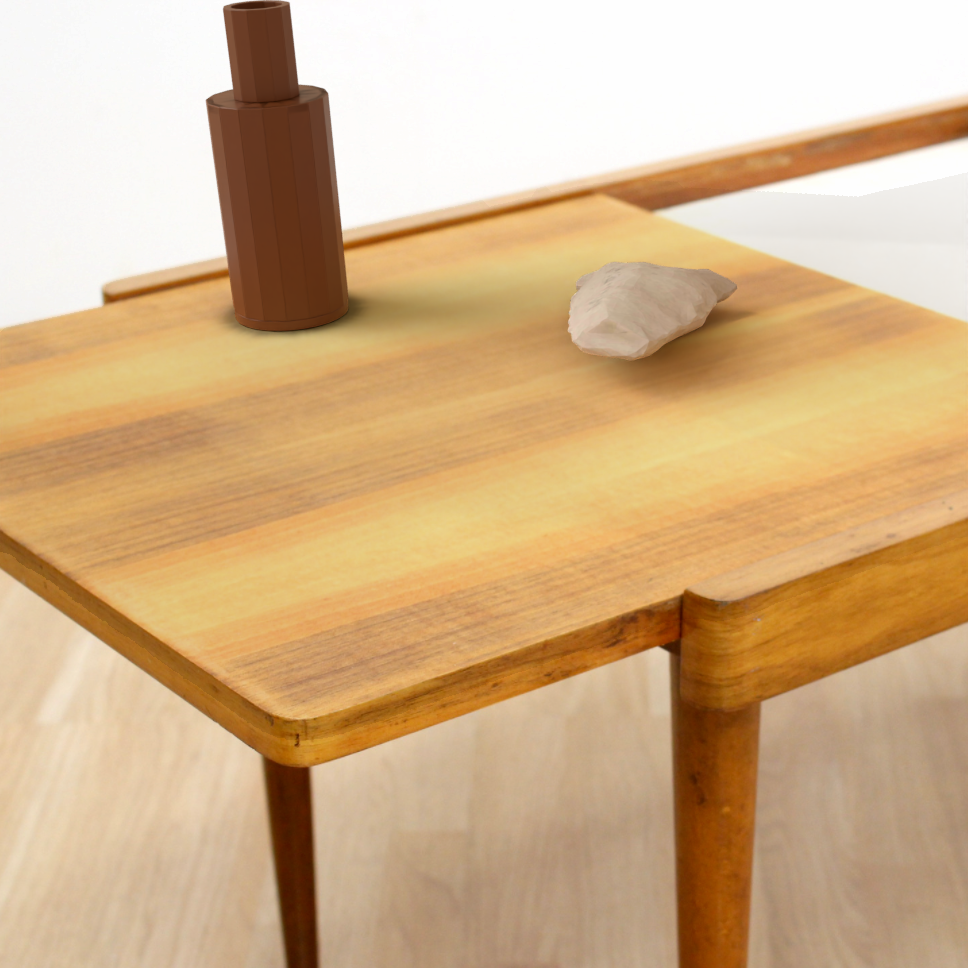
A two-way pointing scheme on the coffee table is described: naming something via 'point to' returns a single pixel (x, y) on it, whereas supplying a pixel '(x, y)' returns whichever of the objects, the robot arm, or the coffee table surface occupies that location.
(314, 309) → the bottle
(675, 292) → the decorative stone
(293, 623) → the coffee table surface
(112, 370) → the coffee table surface
